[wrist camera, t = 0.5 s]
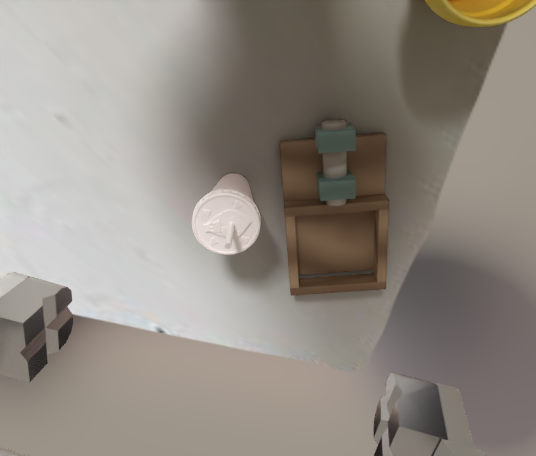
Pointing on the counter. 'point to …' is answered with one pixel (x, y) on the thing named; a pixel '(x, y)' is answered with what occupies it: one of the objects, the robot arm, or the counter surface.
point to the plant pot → (480, 11)
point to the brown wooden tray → (335, 209)
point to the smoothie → (227, 217)
